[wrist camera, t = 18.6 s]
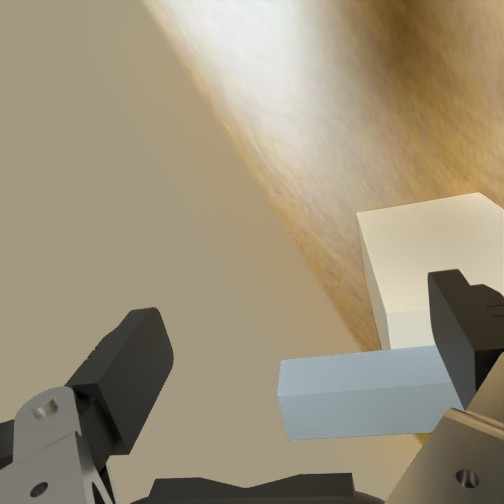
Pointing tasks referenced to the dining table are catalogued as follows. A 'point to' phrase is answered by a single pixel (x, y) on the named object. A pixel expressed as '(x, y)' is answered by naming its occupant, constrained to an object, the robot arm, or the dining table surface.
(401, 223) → the pedestal
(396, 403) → the bar
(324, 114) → the dining table surface
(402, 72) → the dining table surface
